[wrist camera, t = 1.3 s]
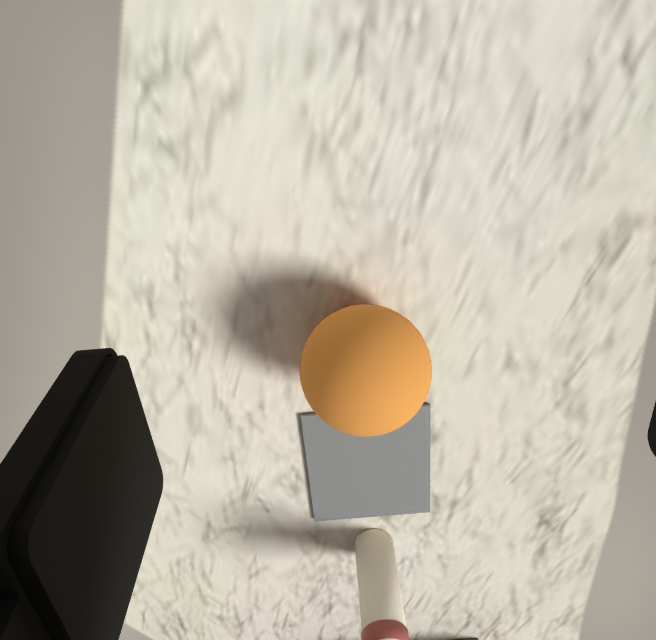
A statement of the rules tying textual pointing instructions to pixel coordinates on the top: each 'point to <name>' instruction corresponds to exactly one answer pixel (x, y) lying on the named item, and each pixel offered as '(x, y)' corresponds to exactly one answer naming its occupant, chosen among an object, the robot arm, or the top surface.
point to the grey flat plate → (368, 469)
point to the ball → (365, 370)
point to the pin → (379, 587)
